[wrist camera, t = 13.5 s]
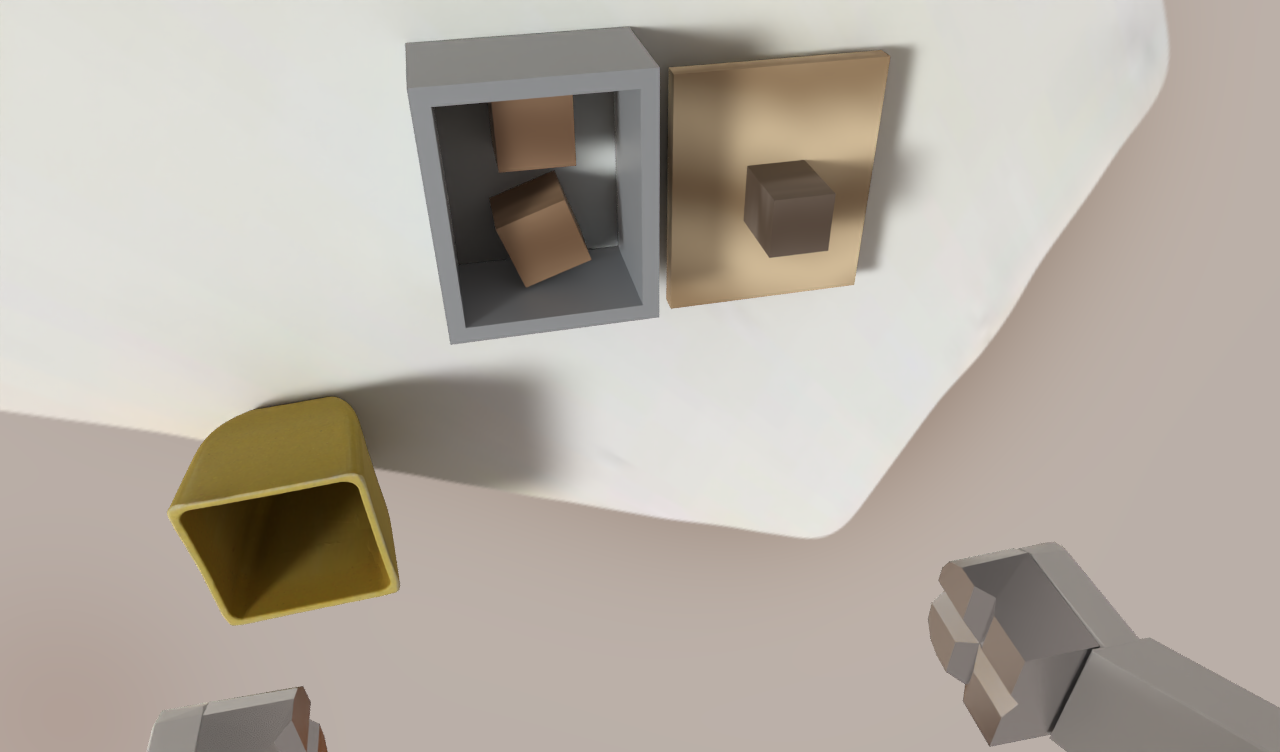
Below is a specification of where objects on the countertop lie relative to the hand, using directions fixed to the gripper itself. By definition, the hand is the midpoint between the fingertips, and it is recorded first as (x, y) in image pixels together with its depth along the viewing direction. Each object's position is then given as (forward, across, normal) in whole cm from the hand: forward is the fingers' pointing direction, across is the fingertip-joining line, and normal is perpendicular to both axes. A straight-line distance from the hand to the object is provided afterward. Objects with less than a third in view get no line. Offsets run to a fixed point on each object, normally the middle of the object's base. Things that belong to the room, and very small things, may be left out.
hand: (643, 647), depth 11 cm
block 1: (+34, -2, +5) cm, 35 cm away
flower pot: (+34, +12, +23) cm, 43 cm away
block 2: (+34, -2, +11) cm, 36 cm away
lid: (+34, -14, +10) cm, 38 cm away
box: (+34, -2, +8) cm, 35 cm away
